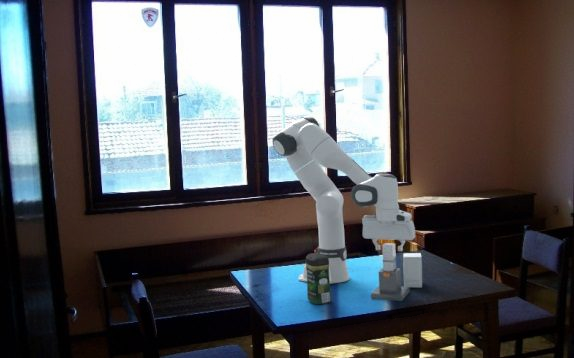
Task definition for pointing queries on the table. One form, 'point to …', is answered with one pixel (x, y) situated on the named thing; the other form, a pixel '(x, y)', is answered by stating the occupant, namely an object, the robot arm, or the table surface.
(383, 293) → the stand
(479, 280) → the table surface
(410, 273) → the supplement box
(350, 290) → the table surface
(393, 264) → the column
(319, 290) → the coffee jar
